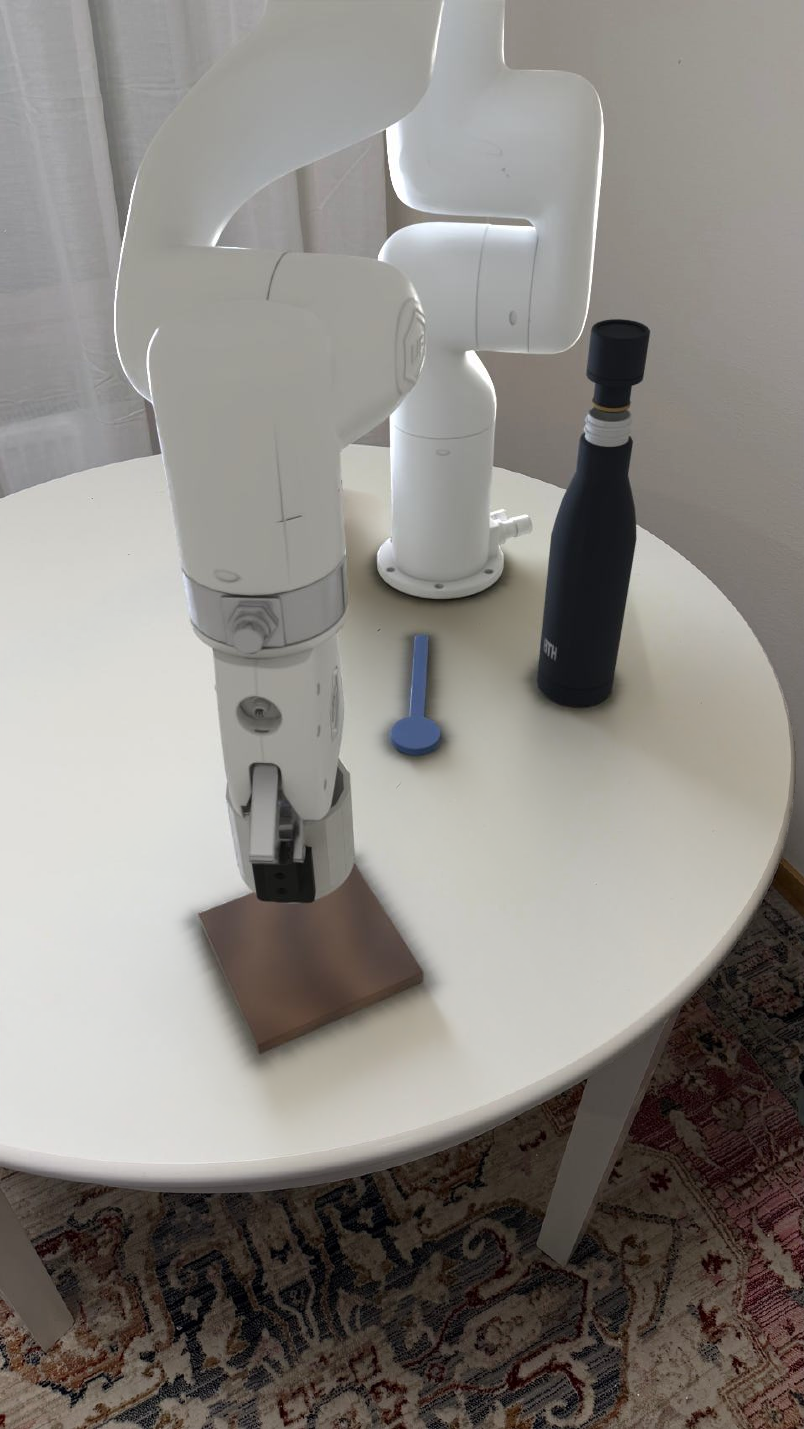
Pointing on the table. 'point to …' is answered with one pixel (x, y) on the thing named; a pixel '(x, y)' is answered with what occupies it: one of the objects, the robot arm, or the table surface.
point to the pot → (310, 838)
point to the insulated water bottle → (594, 530)
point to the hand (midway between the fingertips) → (296, 844)
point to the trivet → (308, 959)
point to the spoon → (417, 710)
